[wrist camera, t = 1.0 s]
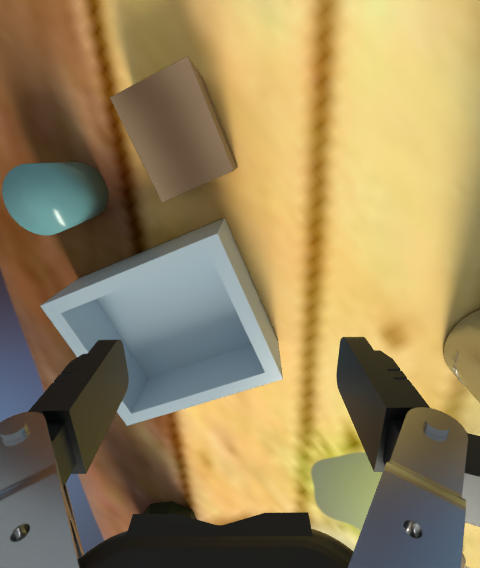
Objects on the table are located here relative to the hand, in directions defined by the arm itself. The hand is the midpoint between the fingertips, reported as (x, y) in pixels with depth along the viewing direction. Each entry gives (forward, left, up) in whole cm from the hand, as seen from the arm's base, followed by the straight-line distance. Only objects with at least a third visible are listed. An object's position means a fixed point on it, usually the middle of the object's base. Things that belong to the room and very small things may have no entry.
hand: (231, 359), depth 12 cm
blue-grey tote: (+9, +5, -19) cm, 21 cm away
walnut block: (+1, -9, -19) cm, 21 cm away
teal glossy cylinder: (+12, -9, -19) cm, 24 cm away
